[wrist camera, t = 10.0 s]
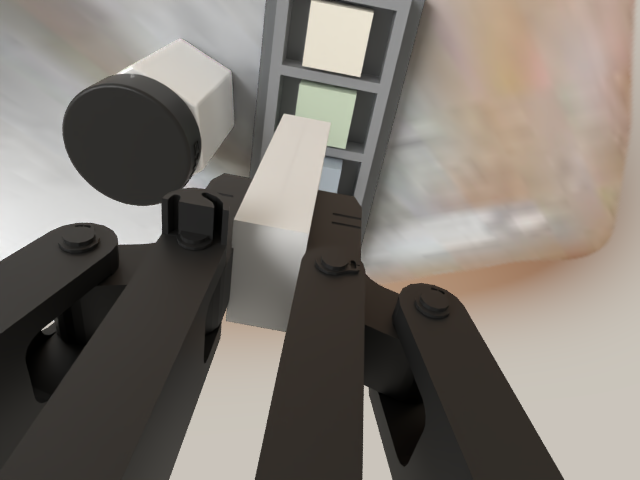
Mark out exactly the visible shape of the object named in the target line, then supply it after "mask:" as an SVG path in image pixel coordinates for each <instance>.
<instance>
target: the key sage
mask: <svg viewBox="0 0 640 480" xmlns="http://www.w3.org/2000/svg"><path fill="white" fill-rule="evenodd" d="M356 95H357V89H352V88H347V87H341V86H336V85H331V84H326V83H321V82H316V81H311V80H305V79H302V80H301V82H300V84H299V91H298V98H297V105H296V112H295V116H299V117H304V118H310V119H315V120H320V121H325V122H330V123H331V125H330V131H329V136H328V142H327V146H332V147H337V148H343V149H345V148H346V143H347V139H348V134H349V129H350V124H351V119H352V115H353V110H354V105H355V100H356Z"/></svg>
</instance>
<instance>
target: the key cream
mask: <svg viewBox="0 0 640 480" xmlns="http://www.w3.org/2000/svg"><path fill="white" fill-rule="evenodd" d="M373 14H374V10H373V9H371V8H366V7H360V6H355V5H350V4H345V3H340V2H335V1H330V0H311V6H310V13H309V20H308V27H307V34H306V41H305V48H304V55H303V63H302V66H305V67H310V68H316V69H321V70H326V71H331V72H336V73H341V74H346V75H352V76H357V77H360V76H361V71H362V67H363V62H364V57H365V52H366V47H367V43H368V38H369V33H370V28H371V24H372V19H373Z"/></svg>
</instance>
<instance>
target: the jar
mask: <svg viewBox="0 0 640 480" xmlns="http://www.w3.org/2000/svg"><path fill="white" fill-rule="evenodd" d="M233 127H234V106H233V86H232V72H231V71H230V70H229V69H228V68H226V67H224V66H223V65H221V64H220V63H218V62H217V61H215V60H214V59H212V58H211V57H209V56H208V55H206V54H205V53H203V52H202V51H200V50H199V49H197V48H195V47H194V46H192V45H191V44H189V43H188V42H186V41H185V40H183V39H181V38H180V39H177V40H176V41H174V42H172V43H170V44H168V45H166V46H165V47H163V48H161V49H159V50H157V51H156V52H154V53H152V54H150V55H148V56H146V57H145V58H143V59H141V60H139V61H137V62H136V63H134V64H132V65H130V66H128V67H127V68H125V69H123V70H122V71H120V72H119V73H117V74H115V75H112V76H109V77H107V78H104V79H103V80H101V81H99V82H97V83H95V84H93V85H92V86H90V87H88V88H86V89H84V90H83V91H81V92H80V93H79V94H77V95H76V96H75V97H74V98H73V100H72V101H71V102H70V104H69V105H68V107H67V109H66V112H65V115H64V119H63V128H62V129H63V140H64V144H65V148H66V151H67V153H68V156H69V158H70V160H71V162H72V164H73V165H74V167H75V168H76V170H77V171H78V172H79V174H80V175H81V176H82V177H83V178H84V179H85V180H86V181H87V182H88V183H89V184H90V185H91V186H92V187H94V188H95V189H96V190H98V191H99V192H101V193H102V194H104V195H105V196H107V197H109V198H111V199H114V200H116V201H119V202H122V203H125V204H130V205H137V206H149V205H155V204H159V203H162V201H161V198H162V197H164V196H165V195H166V194H167V193H169V192H172V191H175V190H178V189H182V188H183V187H184V186H185V185H186V184H187V183H188V181H189V179H191V177H192V176H193V175H194V174H196V173H199V172H201V171H202V170H203V169H204V168H205V167H206V165H207V164H208V162H209V161H210V159H211V158H212V157H213V155H214V154H215V152H216V151H217V149H218V148H219V147H220V145H221V144H222V142H223V141H224V140H225V138H226V137H227V135H228V134H229V132H230V131H231V130H232V128H233Z"/></svg>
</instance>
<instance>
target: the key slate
mask: <svg viewBox="0 0 640 480" xmlns="http://www.w3.org/2000/svg"><path fill="white" fill-rule="evenodd" d="M342 161H343V160H342V159H336V158H331V157H326V156H325V158H324V163H323V169H322V174H321V179H320V185H319V190H322V191H327V192H333V193H337V189H338V184H339V179H340V175H341V170H342Z"/></svg>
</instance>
